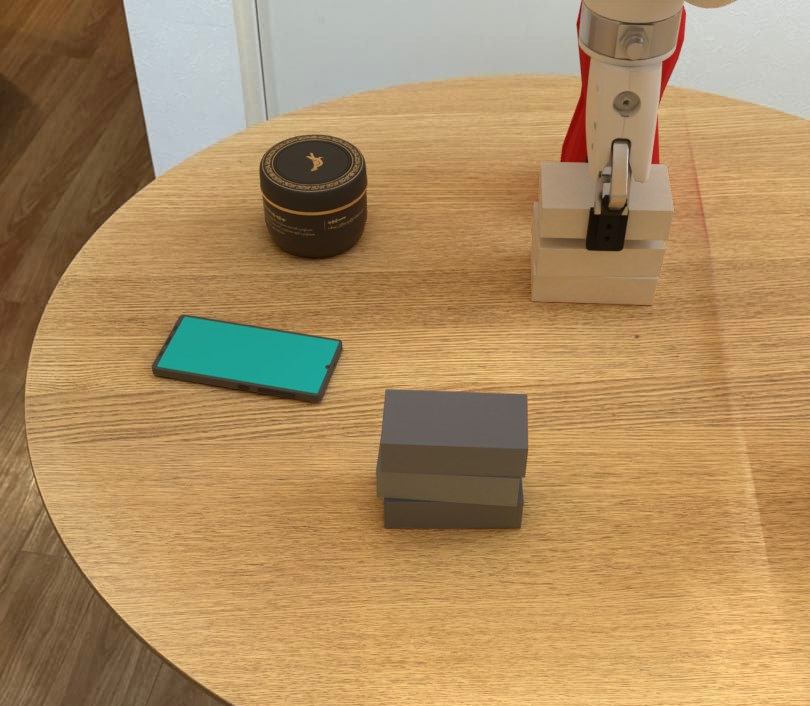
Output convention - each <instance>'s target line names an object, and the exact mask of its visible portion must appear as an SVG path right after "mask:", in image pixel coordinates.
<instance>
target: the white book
mask: <svg viewBox="0 0 810 706" xmlns="http://www.w3.org/2000/svg"><path fill="white" fill-rule="evenodd" d="M602 174H611V167H605V168H604V170H603V173H602ZM595 187H596V181H594V180H593V179H592V178H591V177H590V174H589V165H588V163H577V162H560V161H541V162H540V167H539V177H538V190H537V191H538V192H537V195H538V198H537V199H538V200H537V201H538V202H539V230H540V238H581V239H586V236H587V229H588V221H589V213H590V207H594V200H595ZM671 189H672V188H671V182H670V176H669V170H668V164H666V163H660V164H651V168H650V175H649V179H648V180H647V181H646V182H645V183H641V182H635V180H634V177H633V173H632V174H631V186H630V197H629V216H628V222H627V229H626V235H625V240H664V242H665V241H666V242H667V241H668V242H669V240H670V236H671V235H670V234H671V229H672V224H673V218H674V214H675V207H674V201H673V194H672V190H671ZM609 190H610V183H604V184H603V196H602V198H603V197H604V196H605V195H609Z"/></svg>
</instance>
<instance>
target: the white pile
mask: <svg viewBox="0 0 810 706" xmlns="http://www.w3.org/2000/svg"><path fill="white" fill-rule="evenodd" d="M530 228H531V229H530V232H531V243H530V254H529V256H530V257H529V259H530V263H529V264H530V301H531V302H540V303H541V302H542V303H544V302H545V303H568V304H569V303H570V304H572V303H573V304H601V305H628V306H629V305H631V306H633V305H634V306H653V305H654V302H655V297H656V292H657V287H658V283H659V277H661V274H662V269H663V265H664V259H665V255H666V251H667V248H666V244H665V240H625V241H624V247H623V250H621V251H588V250H587V249H586V239H581V238H540V230H539V201H533V205H532V216H531V225H530Z"/></svg>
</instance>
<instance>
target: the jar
mask: <svg viewBox="0 0 810 706" xmlns="http://www.w3.org/2000/svg"><path fill="white" fill-rule="evenodd" d="M258 167H259V168H258V169H259V170H258V171H259V172H258V174H259V188H260V192H261V199H262V207H263V214H264V222H265V225H266V228H267V230H268V232H269V234H270V237H271V239H272V240H273V242H274V243H275V244H276V245H277V246H278V247H279V248H281V249H282V250H283V251H285V252H287V253H288V254H291V255H292V256H296V257H300V258H304V259H325V258H330V257H331V258H332V257H334V256H338V255H341V254H342V253H345V252H347V251H348V250H350V249H351V248H352V247H353V246H355V245H356V243H357V242H359V241H360V239H361V237H362V236H363V233H364V231H365V228H366V223H367V220H368V195H367V194H368V192H367V191H368V184H369V179H368V174H367V163H366V160H365V157H364V155H363V153H362V151H361V150H360V149H359V148H358V147H357V146H355V144H353V143H351V142H350V141H348V140H345V139H343V138H340V137H337V136H333V135H328V134H316V133H315V134H302V135H297V136H293V137H289V138H286V139H283V140H281V141H279V142H277V143H276V144H274V145H272V146H271V147H270V148H269V149H267V151H265V152H264V154H263V155H262V156H261V160H260V162H259V166H258Z"/></svg>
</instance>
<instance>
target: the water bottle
mask: <svg viewBox="0 0 810 706" xmlns="http://www.w3.org/2000/svg"><path fill="white" fill-rule="evenodd" d="M582 1H583V0H580V5H579V10H578V15H577V19H576V24H575V25H576V34H577V35H576V36H577V40H578V39H579V29H580V20H581V11H582ZM686 19H687V11H686V8H685V5H683V10H682V16H681V21H680V27H679V33H678V38H677V44H676V49H675V51H674V53H673V54H672V55H671V56H670V57H669V58H667V59H666V60H664V61H662V74H661V87H660V97H659V106H658V109H659V107H660V104H661V101H662V98H663V95H664V92H665V90H666V88H667V86H668V83H669V81H670V78H671V76H672V74H673V72H674V70H675V67H676V65H677V63H678V61H679V58H680V55H681V51H682V49H683V45H684V41H685V34H686V21H687V20H686ZM577 45H578V46H577V47H578V59H579V68H580V79H581V87H580V95H579V97H578V100H577V103H576V106H575V109H574V112H573V114H572V117H571V120H570V123H569V125H568V129H567V131H566V135H565V137H564V140H563V143H562V145H561V152H560V161H559V162H577V163H585V161H586V155H588V154H587V141H586V101H587V89H588V79H589V70H590V61H591V57H590V56H589V55H587V54H586V53H585V52H584V51H583V50H582V49H581V47H580V45H579V42H578V41H577ZM651 164H661V163H660V136H659V114H658V115H657V122H656V130H655V137H654V145H653V152H652V160H651Z"/></svg>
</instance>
